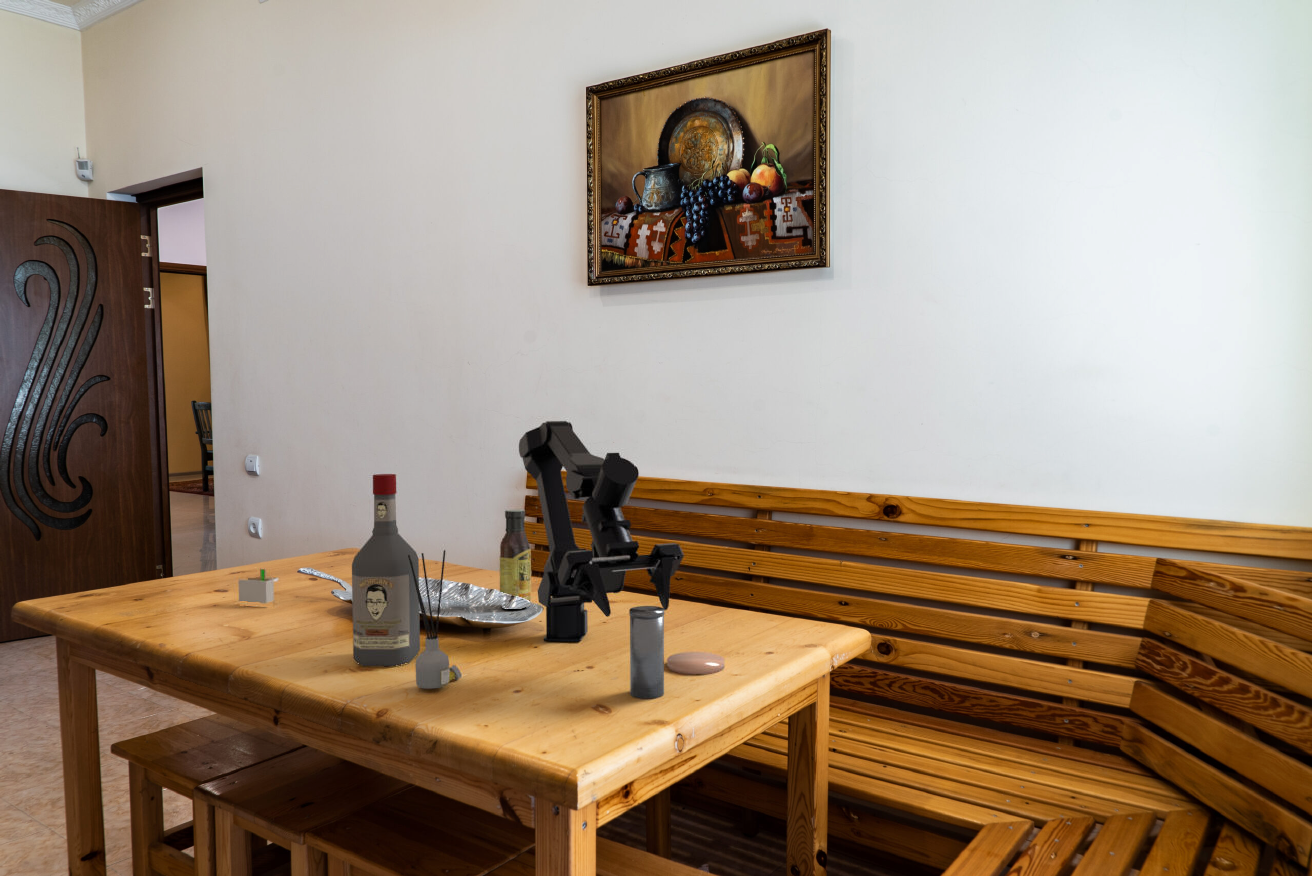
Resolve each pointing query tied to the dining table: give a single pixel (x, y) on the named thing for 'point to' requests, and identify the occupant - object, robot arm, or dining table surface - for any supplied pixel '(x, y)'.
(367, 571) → the liquor
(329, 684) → the dining table surface
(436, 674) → the reed diffuser
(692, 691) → the dining table surface
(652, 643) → the canister
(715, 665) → the soap bar
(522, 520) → the sauce bottle
